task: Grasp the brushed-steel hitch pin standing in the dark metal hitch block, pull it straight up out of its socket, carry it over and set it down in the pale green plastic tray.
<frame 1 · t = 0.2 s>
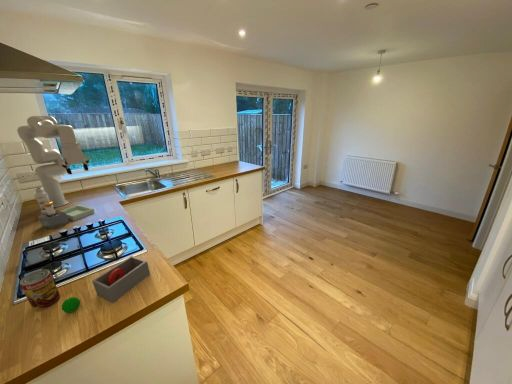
hand: (78, 172, 140), 31 cm above the counter, fingers open, 9 cm apart
hitch pin: (54, 221, 138), point 2 cm above the counter, touching hitch block
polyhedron: (73, 310, 78), on the counter
canned food: (47, 302, 81), on the counter
plastic bottle: (49, 215, 152), on the counter
tray: (77, 214, 152), on the counter
red rounded piece: (128, 282, 90), resting in grey open box
hitch block: (55, 224, 138), on the counter
grey open box: (125, 284, 89), on the counter
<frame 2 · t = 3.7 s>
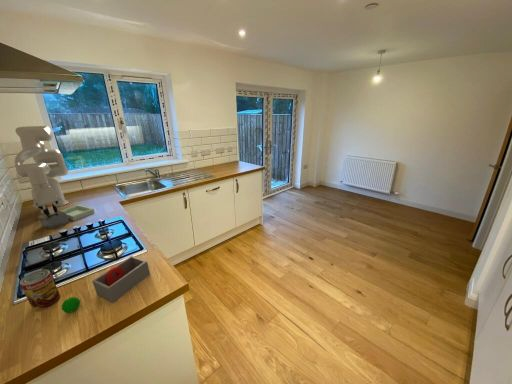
hand: (51, 213, 135), 8 cm above the counter, fingers closed on hitch pin, 3 cm apart
hitch pin: (54, 221, 138), point 2 cm above the counter, touching gripper, hitch block
red rounded piece: (126, 281, 91), resting in grey open box
everything else where it was.
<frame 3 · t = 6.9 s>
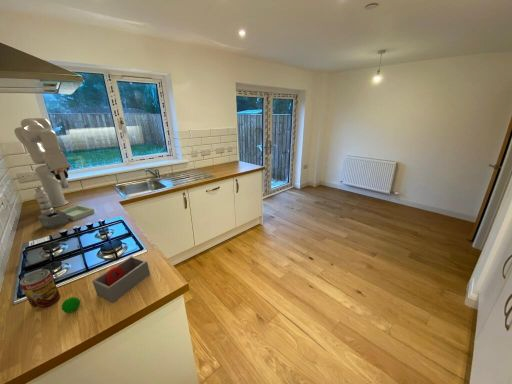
hand: (62, 178, 142), 27 cm above the counter, fingers closed on hitch pin, 3 cm apart
hitch pin: (65, 187, 144), point 21 cm above the counter, touching gripper
everything else where it was.
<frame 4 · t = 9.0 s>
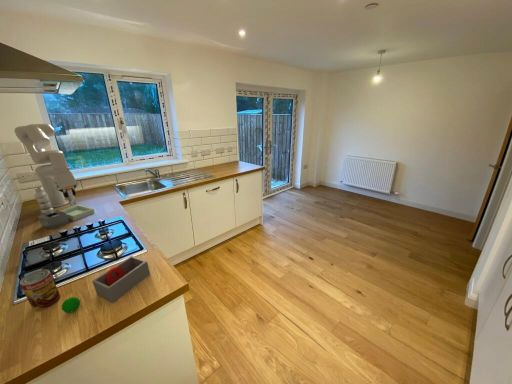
hand: (70, 196, 147), 14 cm above the counter, fingers closed on hitch pin, 3 cm apart
hitch pin: (73, 204, 149), point 8 cm above the counter, touching gripper
everything else where it was.
when the fingers open (9 cm above the counter, at t = 10.6 s): hitch pin drops 2 cm, resting on tray.
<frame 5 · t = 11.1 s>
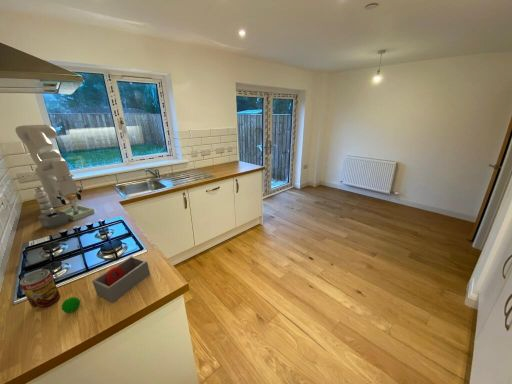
hand: (72, 202, 148), 10 cm above the counter, fingers open, 8 cm apart
hitch pin: (76, 213, 152), point 1 cm above the counter, touching tray
everything else where it was.
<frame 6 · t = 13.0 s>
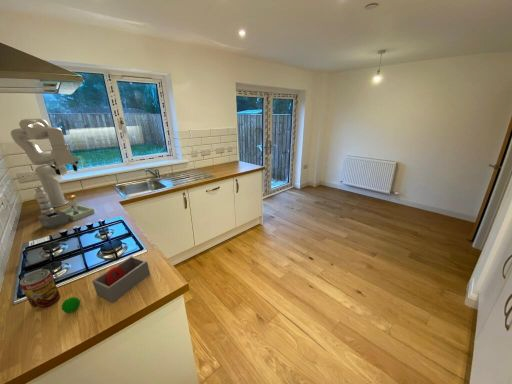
hand: (67, 172, 146), 29 cm above the counter, fingers open, 9 cm apart
nothing on the counter moved.
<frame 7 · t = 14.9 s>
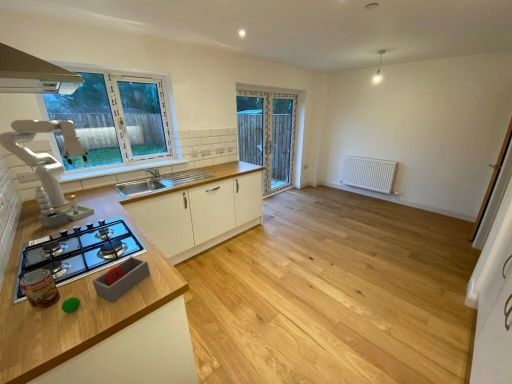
hand: (78, 162, 156), 33 cm above the counter, fingers open, 9 cm apart
nothing on the counter moved.
at the end: hitch pin inside the target area on the tray (0.2 cm from its centre), point 0.6 cm above the tray's base; the gripper is holding nothing; hitch pin moved 14.9 cm from its start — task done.
